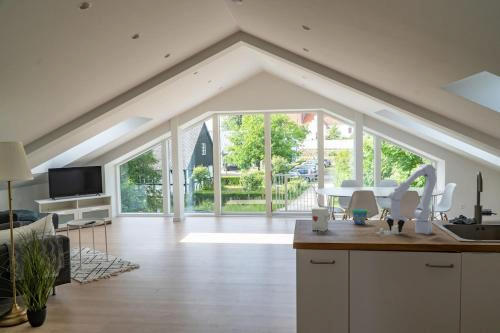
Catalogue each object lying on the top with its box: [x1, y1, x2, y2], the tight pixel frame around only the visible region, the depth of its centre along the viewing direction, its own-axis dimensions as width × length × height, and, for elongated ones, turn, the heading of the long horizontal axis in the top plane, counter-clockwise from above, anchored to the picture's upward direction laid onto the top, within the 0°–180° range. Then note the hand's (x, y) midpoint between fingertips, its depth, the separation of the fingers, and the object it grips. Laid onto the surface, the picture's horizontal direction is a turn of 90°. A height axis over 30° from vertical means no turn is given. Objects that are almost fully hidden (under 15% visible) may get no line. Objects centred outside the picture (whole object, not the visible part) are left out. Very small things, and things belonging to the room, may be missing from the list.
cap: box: [391, 224, 400, 235], centre depth 266 cm, size 5×5×4 cm
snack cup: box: [348, 208, 372, 225], centre depth 309 cm, size 16×10×10 cm
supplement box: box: [311, 206, 329, 232], centre depth 287 cm, size 9×9×15 cm
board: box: [375, 228, 403, 237], centre depth 266 cm, size 13×13×4 cm
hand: (395, 231), depth 266 cm, fingers closed on cap, 5 cm apart
